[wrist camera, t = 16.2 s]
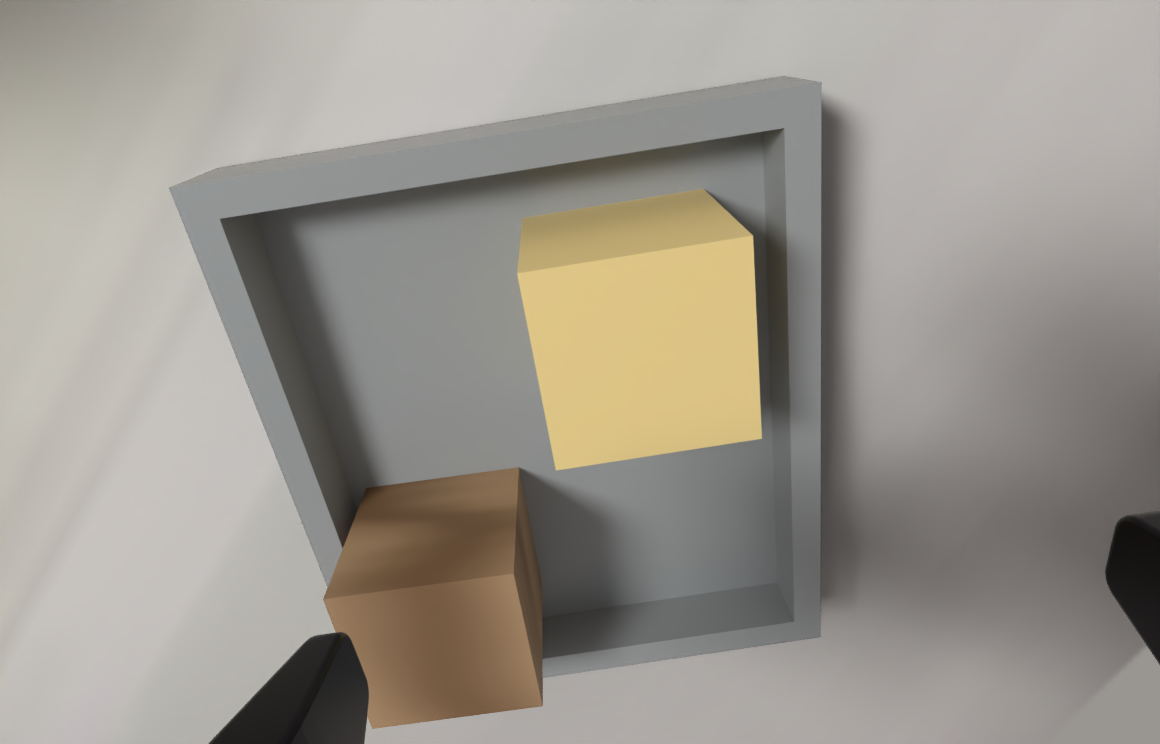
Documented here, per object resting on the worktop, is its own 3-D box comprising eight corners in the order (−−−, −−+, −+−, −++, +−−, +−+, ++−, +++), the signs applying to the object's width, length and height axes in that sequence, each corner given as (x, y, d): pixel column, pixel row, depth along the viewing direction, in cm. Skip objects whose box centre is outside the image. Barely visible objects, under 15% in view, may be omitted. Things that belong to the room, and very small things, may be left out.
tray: (389, 640, 24) (373, 702, 22) (217, 168, 17) (168, 187, 15) (794, 580, 24) (820, 636, 22) (784, 76, 17) (821, 82, 15)
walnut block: (403, 603, 22) (372, 728, 18) (366, 488, 21) (323, 599, 16) (542, 585, 22) (542, 706, 18) (518, 467, 21) (513, 573, 16)
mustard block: (553, 379, 19) (556, 470, 15) (522, 218, 17) (517, 273, 13) (715, 353, 19) (761, 438, 15) (703, 188, 17) (752, 235, 13)
